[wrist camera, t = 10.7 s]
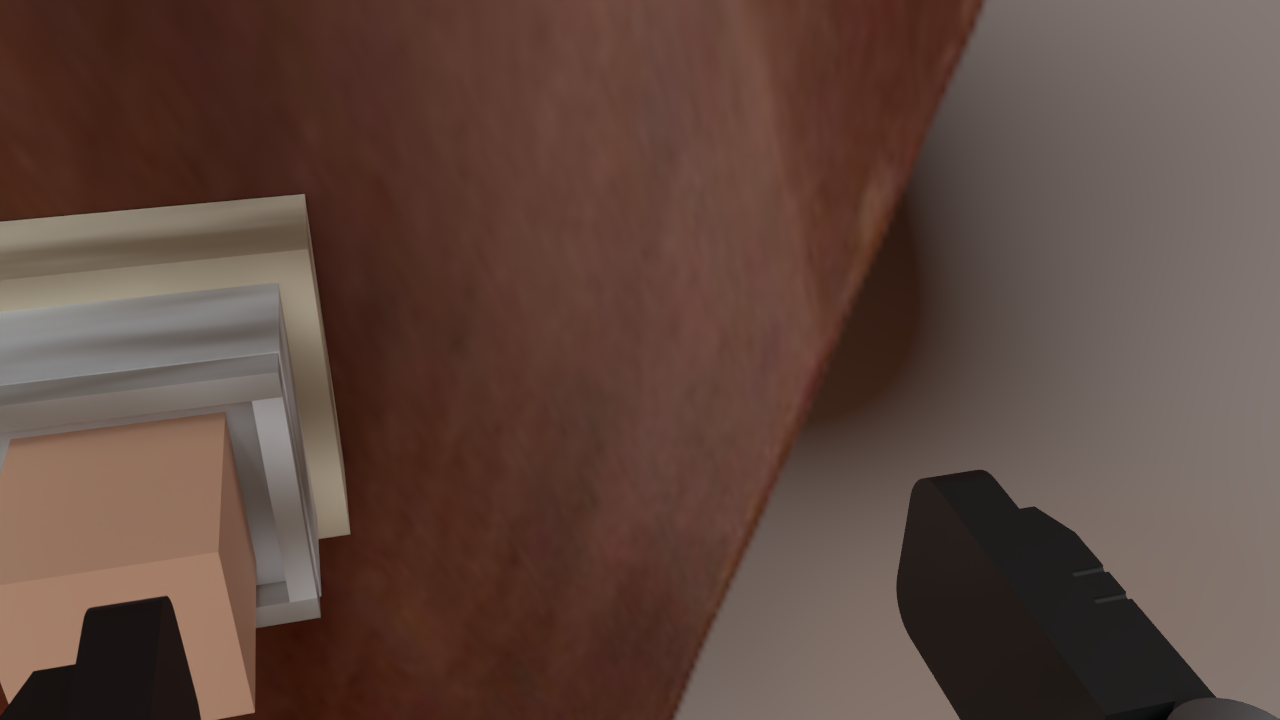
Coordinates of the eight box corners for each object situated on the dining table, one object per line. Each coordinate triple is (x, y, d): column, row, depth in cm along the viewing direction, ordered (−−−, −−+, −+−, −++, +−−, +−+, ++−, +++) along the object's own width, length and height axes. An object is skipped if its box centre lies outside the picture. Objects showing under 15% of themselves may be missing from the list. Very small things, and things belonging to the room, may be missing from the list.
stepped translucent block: (-68, 227, 37) (-151, 387, 30) (304, 193, 39) (313, 333, 32) (25, 510, 43) (-25, 701, 36) (344, 465, 45) (359, 636, 38)
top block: (10, 439, 33) (-35, 590, 28) (225, 411, 34) (218, 552, 29) (60, 592, 36) (27, 753, 31) (256, 561, 37) (254, 712, 32)
